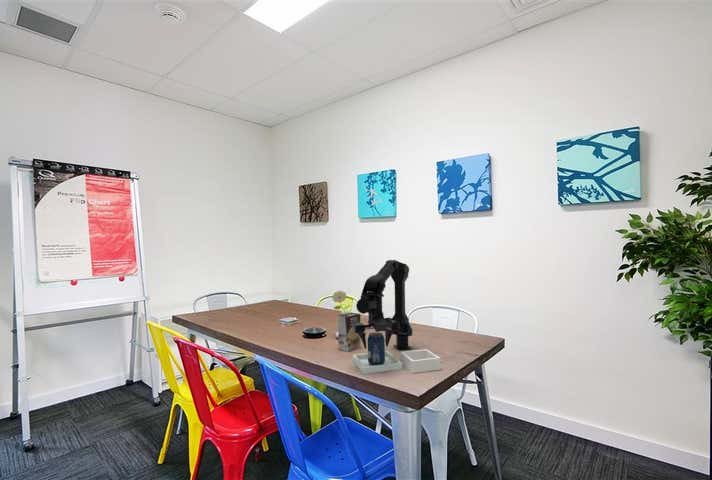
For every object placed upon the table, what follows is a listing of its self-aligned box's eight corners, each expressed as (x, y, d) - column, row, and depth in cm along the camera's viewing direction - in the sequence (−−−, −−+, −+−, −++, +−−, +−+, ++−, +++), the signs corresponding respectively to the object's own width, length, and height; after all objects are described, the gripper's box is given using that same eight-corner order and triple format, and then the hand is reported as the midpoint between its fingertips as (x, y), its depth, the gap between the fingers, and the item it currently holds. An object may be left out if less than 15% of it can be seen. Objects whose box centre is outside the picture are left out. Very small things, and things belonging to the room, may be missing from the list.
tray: (352, 360, 144) (352, 354, 144) (388, 356, 149) (387, 351, 149) (363, 374, 129) (363, 367, 129) (402, 369, 133) (402, 363, 133)
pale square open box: (400, 362, 140) (400, 351, 140) (426, 359, 144) (426, 349, 144) (412, 373, 129) (412, 361, 129) (440, 369, 132) (440, 358, 132)
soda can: (379, 359, 144) (378, 331, 144) (388, 364, 137) (387, 334, 138) (365, 362, 140) (364, 333, 141) (373, 367, 134) (372, 337, 134)
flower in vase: (358, 334, 186) (357, 289, 186) (355, 340, 174) (354, 291, 175) (334, 334, 187) (333, 289, 187) (330, 340, 175) (329, 292, 176)
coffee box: (347, 352, 156) (346, 317, 156) (338, 349, 161) (337, 315, 161) (361, 347, 163) (360, 313, 163) (352, 344, 167) (351, 312, 167)
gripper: (358, 314, 129) (359, 356, 129) (404, 311, 134) (405, 351, 134) (351, 309, 140) (352, 347, 139) (393, 306, 145) (394, 343, 144)
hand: (376, 347), depth 139 cm, fingers open, 9 cm apart
